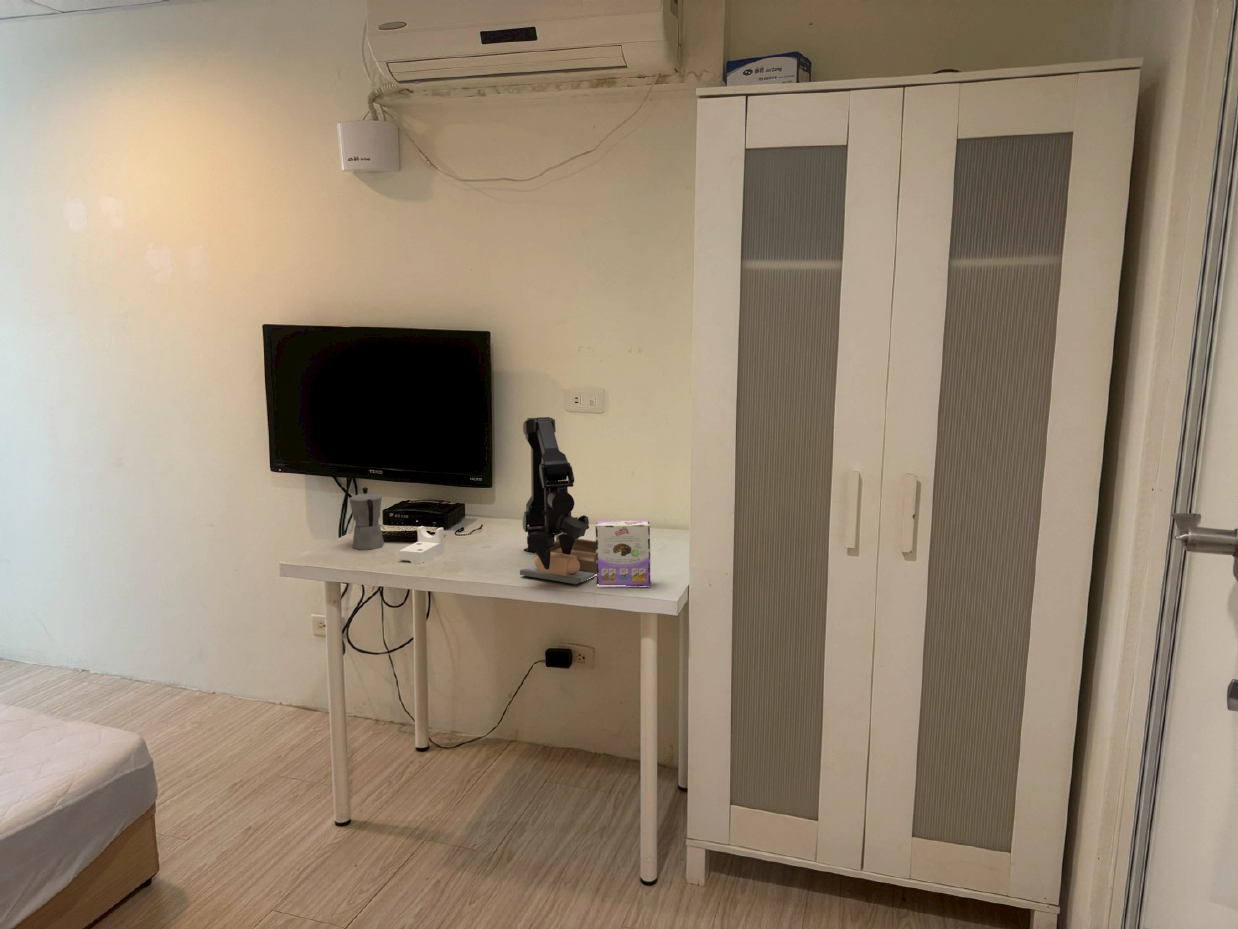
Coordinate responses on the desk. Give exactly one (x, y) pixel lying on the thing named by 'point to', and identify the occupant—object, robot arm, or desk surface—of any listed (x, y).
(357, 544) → the coffeepot
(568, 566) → the dome topped block
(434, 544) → the bracket
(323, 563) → the desk surface
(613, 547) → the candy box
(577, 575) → the panel
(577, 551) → the tray
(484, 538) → the desk surface
